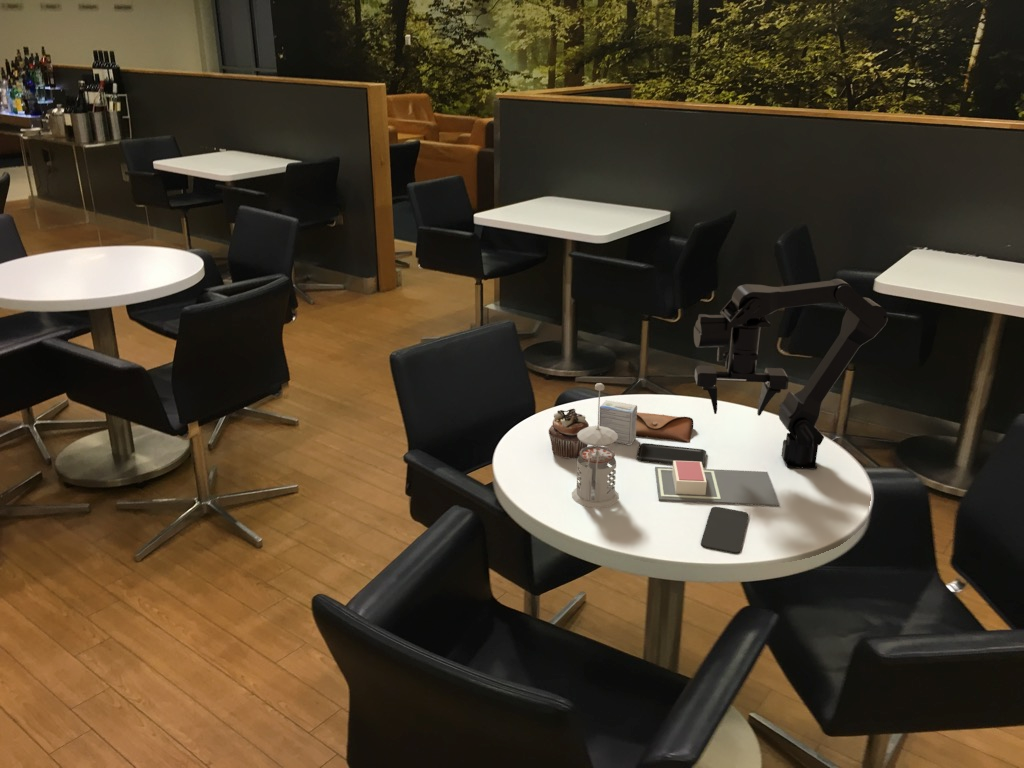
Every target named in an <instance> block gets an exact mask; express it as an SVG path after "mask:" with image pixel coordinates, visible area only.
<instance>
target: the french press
mask: <svg viewBox="0 0 1024 768" xmlns="http://www.w3.org/2000/svg"><path fill="white" fill-rule="evenodd" d="M594 390H595V391H598V406H597V407H598V411H597V425H591V426H589V427H587V428H585V429H582V430H580V431H579V432H578V434H577V436H578V439H579V440H580V441H581V442H583V443H585V444H587V445H588V446H587V447H585V448H583V449H581V451H580V452H579V455H580V456H579V457H577V462H576V464H577V466H576V467H577V468H576V487H575V488H574V489H573V491H572V492H571V499H572V500H573V501H574V502H576V503H577V504H579V505H582V506H584V507H588V508H592V509H593V508H595V509H597V508H598V509H599V508H600V509H601V508H607V507H611V506H613V505H615V504H616V503H617V502H618V501H619V499H620V496H619V492H618V491H617V490H616V486H615V485H616V481H615V480H616V473H617V472H616V468H617V460H616V458H615V456H616V455H615V454H616V453H615V452H614V451H613V450H612V449H611V448H609V447H606V446H609V445H611V444H614V443H616V442H615V441H616V440H617V438H618V435H617V433H616V432H615V431H613V430H611V429H610V428H608V427H602V426H599V417H600V406H601V405H600V401H601V391H604V390H605V385H604V384H603V383H601V382H597V383H596V384H595V386H594ZM585 463H587V464H585ZM582 464H585V465H582ZM608 464H609V465H610V466H609V465H608Z"/></svg>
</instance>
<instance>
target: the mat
mask: <svg viewBox="0 0 1024 768" xmlns="http://www.w3.org/2000/svg"><path fill="white" fill-rule="evenodd" d="M672 469H673V466H672V467H671V466H670V467H669V466H667V467H666V466H655V467H654V471H655V479H656V489H657V496H658V497H657V498H658V501H661V502H677V503H679V502H681V503H698V504H699V503H702V504H705V503H706V504H719V505H720V504H721V505H738V506H739V505H741V506H742V505H743V506H760V507H761V506H763V507H780V506H781V505H780V502H779V499H778V497H777V494H776V491H775V488H774V486H773V483H772V480H771V478H770V475H769V472H768V471H756V470H737V469H736V470H735V469H711V468H710V469H709V468H703V469H704V474H705V478H706V482H707V484H706V494H705V495H692V494H676V492H675V486H674V481H673V475H672Z"/></svg>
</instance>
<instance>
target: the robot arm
mask: <svg viewBox="0 0 1024 768" xmlns="http://www.w3.org/2000/svg"><path fill="white" fill-rule="evenodd" d="M828 303H839V304H840V306H842V307H843V308H844V309H845V310H846V311H845V313H844V315H843V317H842V322H841V327H840V332H839V334H838V335H837V337H836V339H835V340H834V342H833V343H832V345H831V346H830V348H828V349H829V350H828V351H827V352H826V354H825V356H824V357H823V359H822V360H821V361H820V363H819V364H818V366H816V368H815V370H814V371H813V373H812V375H811V376H810V378H808V381H807V383H805V385H804V386H803V388H802V389H801V390H799V391H797V392H796V393H793V392H792V391H788V393H787V394H786V396H785V398H784V400H783V401H782V402H780V404H778V406H779V410H778V415H777V416H778V418H779V421H780V422H781V423H782V425H783V426H784V427H785V429H786V430H787V431H788V432H787V433H786V438H785V439H784V440H783V442H782V449H781V455H780V456H781V458H782V460H783V462H784V463H785V466H786V467H787V468H789V469H790V468H792V469H811V470H817V469H818V464H817V457H818V456H817V455H818V450H819V446H821V444H822V443H823V440H824V439H825V436H824V435H823V434H822V433H821V431H820V430H819V429H818V428H817V426H816V424H817V423H818V420H819V418H820V413H821V409H822V403H823V401H824V400H825V398H826V397H827V395H828V394H829V392H830V391H831V390H832V388H833V387H834V385H835V384H836V382H837V381H838V379H839V378H840V377H841V375H842V373H843V372H844V370H845V369H846V368H847V367H848V365H849V363H850V362H851V361H852V359H853V357H854V356H855V354H856V353H857V351H858V350H859V348H861V346H862V345H865V344H866V343H868V342H869V341H871V340H872V339H874V338H875V337H876V336H877V335H878V334H879V333H880V332H881V331H882V330H883V328H884V327H885V326H886V325H887V322H888V320H889V317H888V314H887V313H888V312H887V310H886V309H885V308H884V307H882V306H881V305H880V304H878V303H876V302H875V301H873V299H871V298H869V297H865V296H861V294H859V293H858V292H857V291H856V290H854V289H853V288H852V286H851V285H850V284H849V283H848V282H846V281H844V280H843V279H841V278H833V279H830V280H824V281H817V282H807V283H801V284H794V285H793V284H791V285H784V286H770V285H769V286H768V285H764V284H753V283H752V284H750V283H745V284H742V285H739V286H737V288H736V289H735V290H734V291H733V293H732V296H731V299H730V300H729V301H728V302H727V303H726V304H725V305H724V306H723V308H722V309H721V310H720V312H719V313H720V314H707V313H706V314H705V313H699V314H698V317H697V320H696V321H695V325H694V326H693V342H694V345H695V347H696V348H717V351H716V352H717V353H716V361H717V362H725V370H727V371H716V368H715V366H714V365H697V366H696V367H695V369H694V379H695V384H696V386H697V387H699V388H700V387H701V388H702V390H703V391H707V393H708V394H709V397H710V400H711V404H712V409H713V410H712V411H713V413H714V415H716V414H717V413H718V388H717V382H743V383H744V382H746V383H747V382H748V383H749V382H750V383H761V391H760V394H759V395H760V397H759V400H758V404H757V416H759V417H760V416H761V415H762V413H763V412H764V410H765V409H766V407H767V406H768V403H770V401H771V400H772V399H773V397H774V396H776V394H780V393H781V392H782V391H781V390H783V391H784V390H788V388H789V377H788V374H787V373H786V370H784V369H783V368H782V367H776V368H775V367H765V369H764V372H756V369H757V361H758V356H759V353H758V352H759V345H760V344H759V343H760V335H761V328H771V327H772V324H771V323H770V322H769V321H768V319H767V318H766V316H768V315H772V314H773V313H774V312H776V311H779V310H782V309H789V308H795V307H796V308H797V307H798V308H799V307H804V306H812V305H813V306H814V305H822V304H828ZM737 311H738V312H737ZM729 343H730V344H729ZM727 346H729V350H728V347H727Z"/></svg>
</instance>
